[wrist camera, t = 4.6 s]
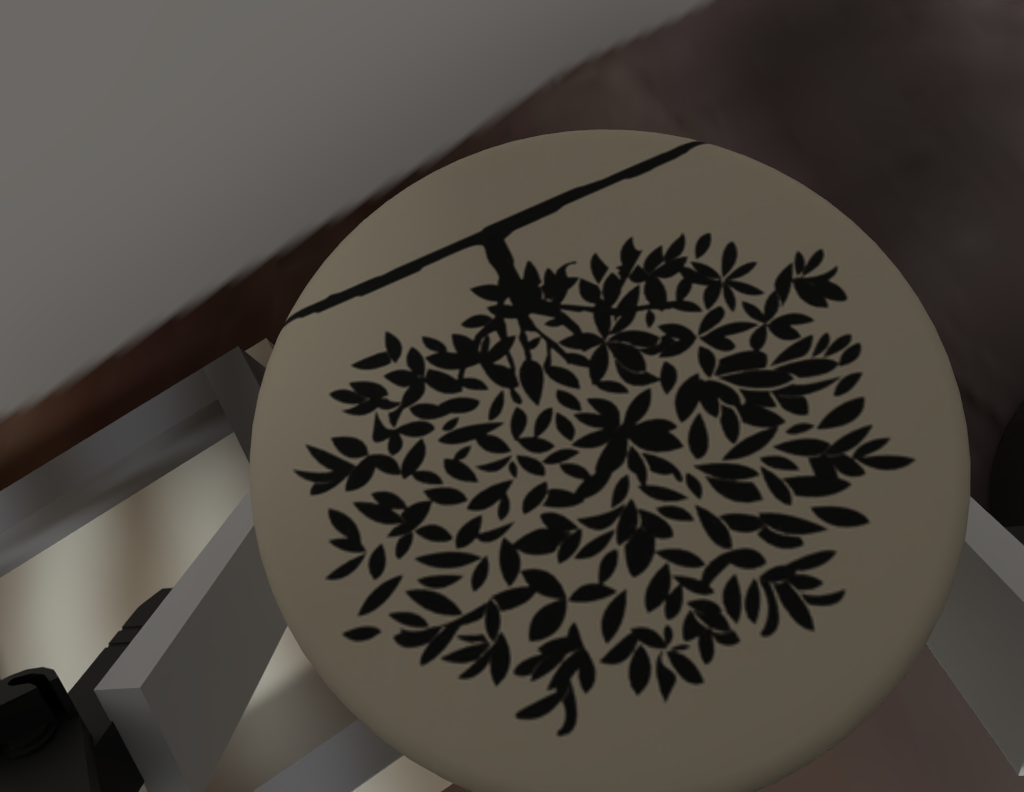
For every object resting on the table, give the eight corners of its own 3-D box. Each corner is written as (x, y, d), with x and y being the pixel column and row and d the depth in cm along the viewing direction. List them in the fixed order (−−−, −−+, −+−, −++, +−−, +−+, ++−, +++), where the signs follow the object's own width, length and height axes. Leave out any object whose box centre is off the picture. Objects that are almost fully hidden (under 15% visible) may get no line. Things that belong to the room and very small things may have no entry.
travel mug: (742, 655, 22) (1210, 717, 5) (516, 718, 22) (260, 972, 5) (663, 439, 25) (798, 30, 8) (465, 496, 25) (194, 212, 8)
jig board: (282, 352, 28) (234, 309, 25) (499, 747, 22) (479, 770, 18) (-52, 558, 27) (-157, 546, 23) (74, 1047, 20) (-43, 1138, 17)
